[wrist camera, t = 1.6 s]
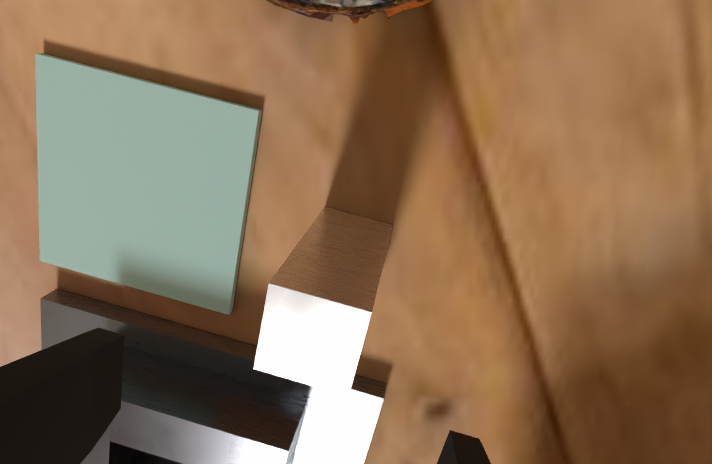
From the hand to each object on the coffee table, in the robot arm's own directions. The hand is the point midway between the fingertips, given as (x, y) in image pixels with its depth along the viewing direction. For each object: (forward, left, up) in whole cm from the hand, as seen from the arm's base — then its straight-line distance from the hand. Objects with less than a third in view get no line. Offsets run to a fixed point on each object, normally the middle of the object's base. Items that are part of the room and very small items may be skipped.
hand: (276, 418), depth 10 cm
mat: (+9, 0, -10) cm, 13 cm away
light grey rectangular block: (0, 0, -10) cm, 10 cm away
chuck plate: (+5, +12, -10) cm, 16 cm away
